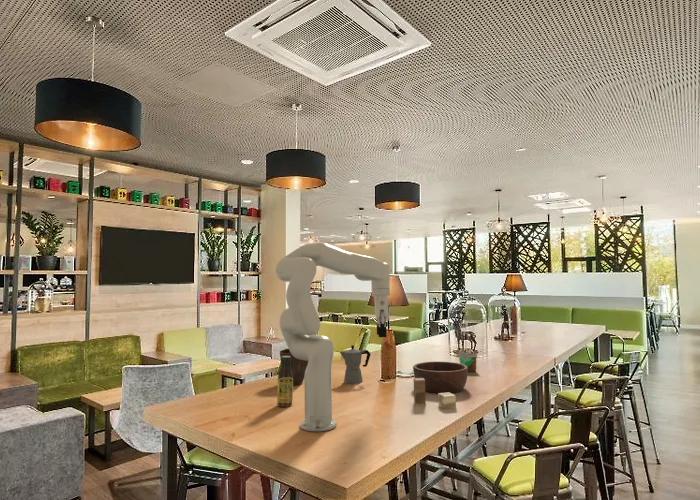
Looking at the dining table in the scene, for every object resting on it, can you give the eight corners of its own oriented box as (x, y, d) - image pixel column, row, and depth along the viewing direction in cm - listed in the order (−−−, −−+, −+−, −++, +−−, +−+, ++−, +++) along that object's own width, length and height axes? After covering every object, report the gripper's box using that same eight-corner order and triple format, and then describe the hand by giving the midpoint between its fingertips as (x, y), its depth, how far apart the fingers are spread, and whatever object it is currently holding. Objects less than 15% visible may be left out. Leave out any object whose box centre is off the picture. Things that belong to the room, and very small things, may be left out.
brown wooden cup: (312, 380, 231) (312, 348, 232) (307, 387, 216) (306, 353, 217) (283, 380, 233) (283, 348, 234) (276, 387, 218) (276, 353, 219)
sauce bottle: (278, 408, 182) (277, 358, 183) (276, 404, 188) (276, 355, 189) (294, 406, 183) (293, 357, 185) (292, 402, 189) (291, 354, 191)
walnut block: (425, 405, 183) (425, 380, 183) (415, 405, 182) (415, 380, 183) (423, 402, 187) (423, 377, 187) (414, 402, 186) (413, 378, 187)
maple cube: (456, 408, 178) (455, 395, 178) (444, 409, 177) (444, 396, 177) (449, 404, 183) (449, 392, 183) (438, 406, 181) (438, 393, 182)
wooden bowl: (403, 386, 215) (402, 364, 216) (444, 380, 227) (444, 359, 227) (436, 398, 193) (435, 374, 194) (480, 390, 204) (479, 367, 205)
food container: (454, 369, 252) (453, 351, 253) (462, 368, 255) (462, 350, 256) (468, 373, 241) (468, 354, 242) (477, 372, 244) (477, 353, 244)
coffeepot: (339, 384, 222) (338, 346, 223) (340, 379, 231) (340, 344, 232) (370, 384, 221) (370, 346, 222) (371, 379, 230) (370, 343, 231)
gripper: (392, 293, 179) (393, 338, 177) (387, 291, 196) (388, 333, 195) (373, 293, 178) (374, 338, 177) (370, 292, 196) (371, 333, 195)
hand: (381, 335), depth 186 cm, fingers open, 7 cm apart
